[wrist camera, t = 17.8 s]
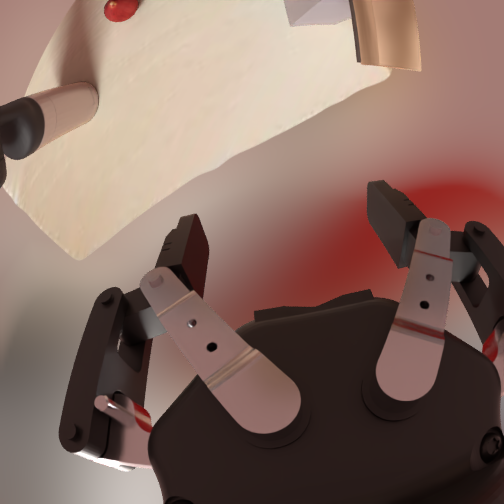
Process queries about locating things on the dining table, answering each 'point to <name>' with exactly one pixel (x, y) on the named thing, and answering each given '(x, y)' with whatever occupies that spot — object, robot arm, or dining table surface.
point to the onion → (120, 9)
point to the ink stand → (317, 12)
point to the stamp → (386, 33)
